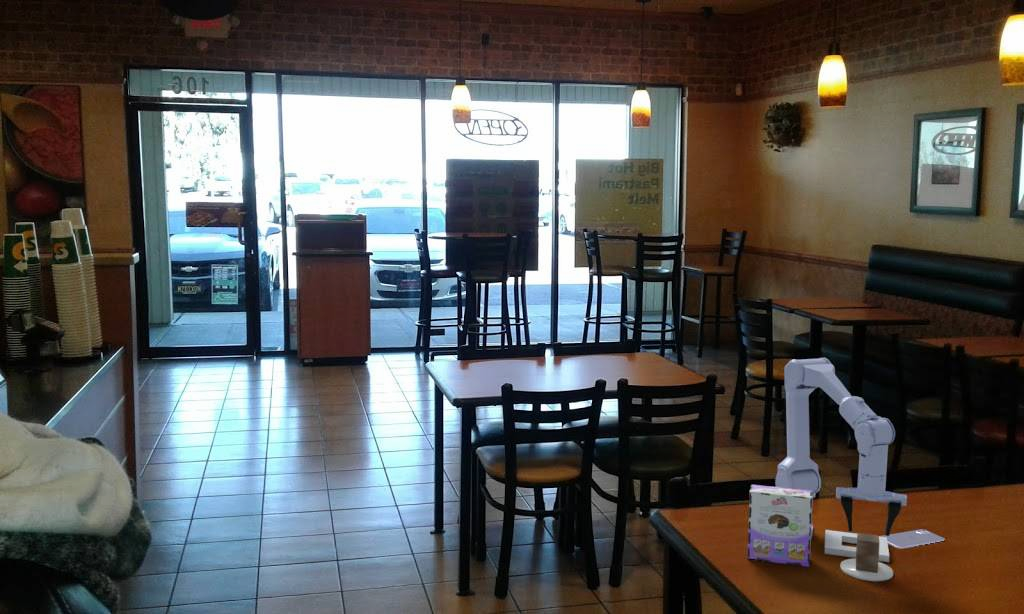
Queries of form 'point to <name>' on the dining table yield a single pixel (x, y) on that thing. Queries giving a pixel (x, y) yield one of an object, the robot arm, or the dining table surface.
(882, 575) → the ceramic coaster
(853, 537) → the pocket plate
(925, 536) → the mobile phone
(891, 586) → the dining table surface
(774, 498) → the candy box
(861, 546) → the walnut block
